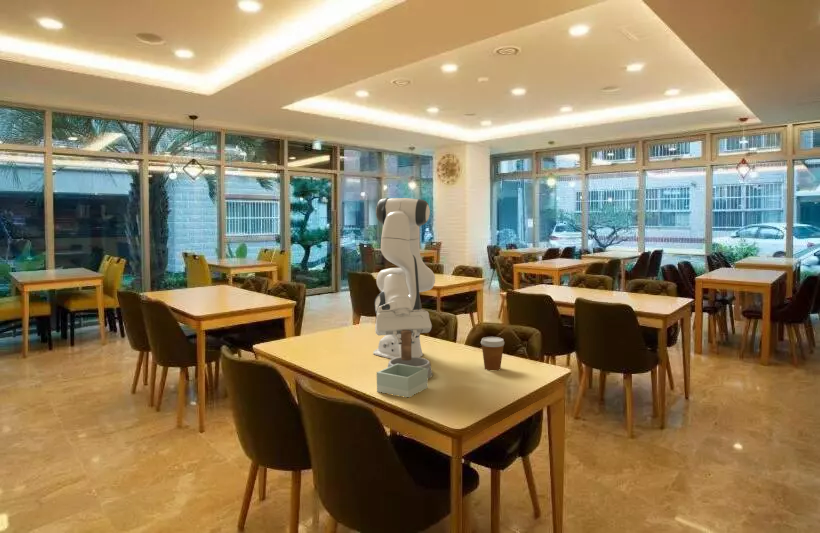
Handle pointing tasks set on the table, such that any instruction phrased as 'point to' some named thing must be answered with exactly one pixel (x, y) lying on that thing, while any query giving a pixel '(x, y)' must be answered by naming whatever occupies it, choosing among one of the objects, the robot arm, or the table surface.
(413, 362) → the dog bowl
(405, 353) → the peg
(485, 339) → the disposable coffee cup
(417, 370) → the socket box
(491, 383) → the table surface
